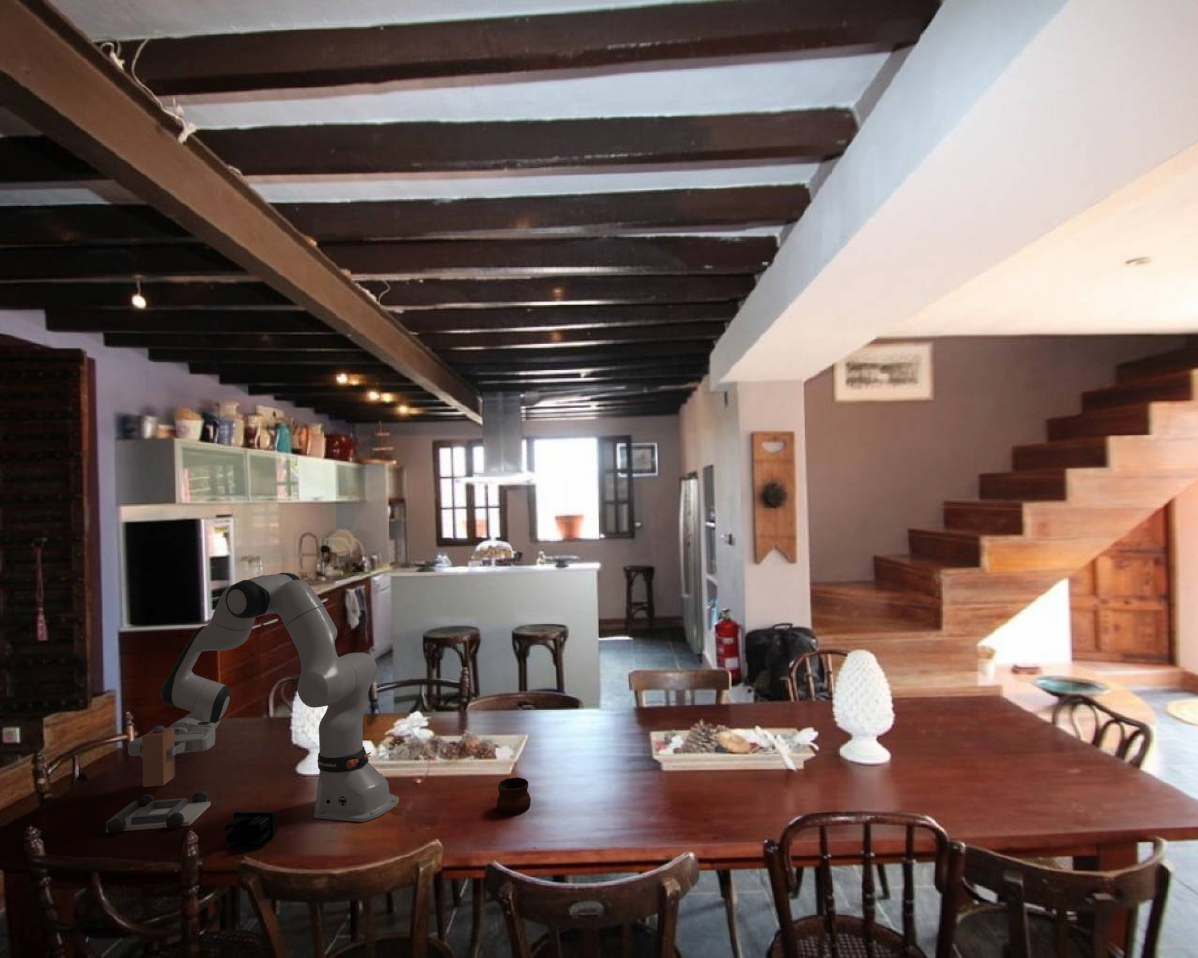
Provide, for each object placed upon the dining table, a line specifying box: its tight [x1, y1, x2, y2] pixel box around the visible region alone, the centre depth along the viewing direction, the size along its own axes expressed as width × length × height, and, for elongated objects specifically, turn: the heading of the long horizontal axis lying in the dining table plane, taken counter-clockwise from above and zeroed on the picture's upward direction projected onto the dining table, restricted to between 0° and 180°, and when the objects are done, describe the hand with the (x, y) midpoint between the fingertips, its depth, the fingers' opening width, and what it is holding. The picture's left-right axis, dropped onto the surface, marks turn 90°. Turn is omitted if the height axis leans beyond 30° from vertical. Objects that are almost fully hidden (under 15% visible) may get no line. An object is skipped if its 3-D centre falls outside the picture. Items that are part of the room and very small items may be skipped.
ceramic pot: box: [491, 777, 532, 816], centre depth 181 cm, size 18×18×7 cm
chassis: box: [105, 789, 212, 835], centre depth 183 cm, size 20×15×4 cm
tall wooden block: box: [142, 725, 176, 788], centre depth 183 cm, size 6×5×14 cm
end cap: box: [224, 811, 280, 850], centre depth 168 cm, size 10×7×7 cm
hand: (157, 753), depth 183 cm, fingers closed on tall wooden block, 5 cm apart
